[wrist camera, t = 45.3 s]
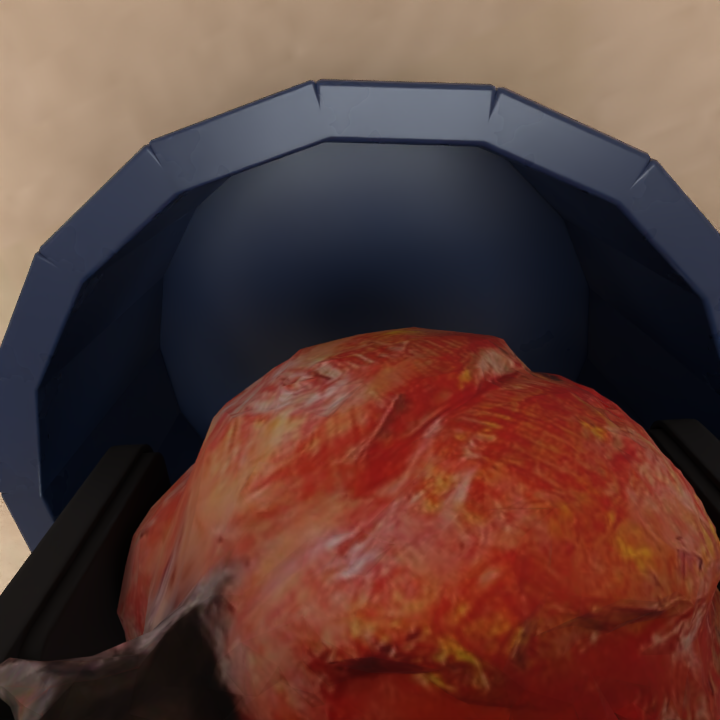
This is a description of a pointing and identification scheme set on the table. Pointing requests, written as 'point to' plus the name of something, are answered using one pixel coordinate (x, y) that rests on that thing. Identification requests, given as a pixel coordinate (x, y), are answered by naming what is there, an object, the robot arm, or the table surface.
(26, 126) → the table surface
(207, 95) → the table surface
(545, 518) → the pomegranate
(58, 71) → the table surface
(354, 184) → the bowl
